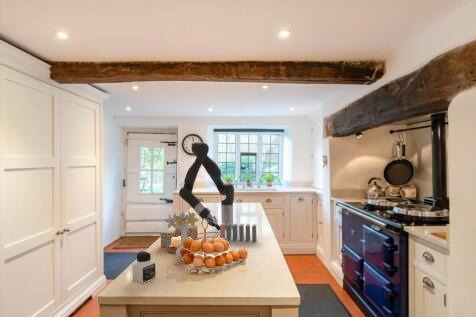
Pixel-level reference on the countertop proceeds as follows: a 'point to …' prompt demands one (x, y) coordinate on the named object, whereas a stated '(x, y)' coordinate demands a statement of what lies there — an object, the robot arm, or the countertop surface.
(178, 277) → the countertop surface
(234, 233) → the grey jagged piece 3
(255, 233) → the slate domino
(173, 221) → the flower vase
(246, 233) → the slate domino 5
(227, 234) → the slate domino
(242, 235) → the slate domino
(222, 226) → the terracotta domino
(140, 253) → the medicine bottle
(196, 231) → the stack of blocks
